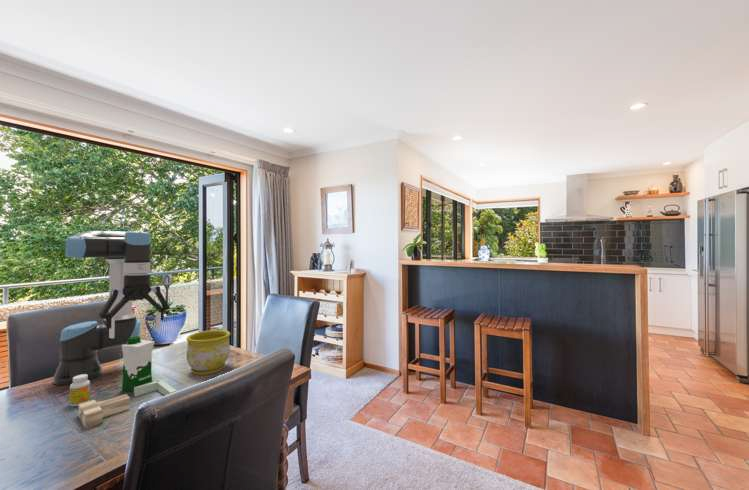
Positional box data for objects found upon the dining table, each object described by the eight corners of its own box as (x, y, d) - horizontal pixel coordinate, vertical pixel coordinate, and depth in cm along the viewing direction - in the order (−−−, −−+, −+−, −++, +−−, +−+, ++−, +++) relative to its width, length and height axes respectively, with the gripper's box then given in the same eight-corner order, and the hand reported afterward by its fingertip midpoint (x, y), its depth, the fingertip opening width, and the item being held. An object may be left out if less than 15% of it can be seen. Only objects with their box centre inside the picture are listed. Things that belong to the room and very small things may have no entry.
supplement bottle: (66, 408, 107) (67, 380, 107) (72, 401, 112) (73, 374, 112) (86, 404, 109) (87, 377, 110) (92, 398, 114) (92, 372, 114)
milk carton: (138, 381, 129) (139, 334, 129) (156, 383, 127) (157, 335, 127) (117, 390, 120) (118, 340, 120) (136, 393, 118) (137, 342, 119)
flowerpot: (237, 364, 149) (238, 330, 149) (212, 379, 131) (212, 341, 132) (205, 361, 152) (206, 328, 152) (176, 376, 134) (176, 339, 135)
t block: (78, 415, 102) (78, 403, 102) (122, 401, 112) (123, 390, 112) (85, 428, 95) (85, 415, 95) (133, 412, 105) (133, 400, 105)
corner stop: (133, 395, 117) (134, 387, 117) (161, 386, 124) (161, 379, 124) (147, 408, 107) (148, 399, 107) (176, 398, 114) (176, 390, 114)
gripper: (93, 277, 97) (92, 343, 96) (179, 272, 117) (178, 327, 117) (87, 275, 101) (86, 339, 101) (171, 271, 121) (170, 324, 121)
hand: (136, 333), depth 109 cm, fingers open, 13 cm apart
